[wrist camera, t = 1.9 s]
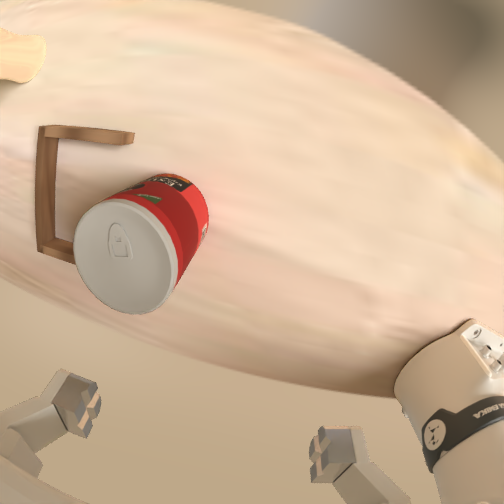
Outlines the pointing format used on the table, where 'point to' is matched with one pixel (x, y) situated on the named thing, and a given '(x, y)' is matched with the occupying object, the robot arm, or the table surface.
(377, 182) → the table surface
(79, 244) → the canned food
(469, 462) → the robot arm
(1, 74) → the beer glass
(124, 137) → the open wooden square
